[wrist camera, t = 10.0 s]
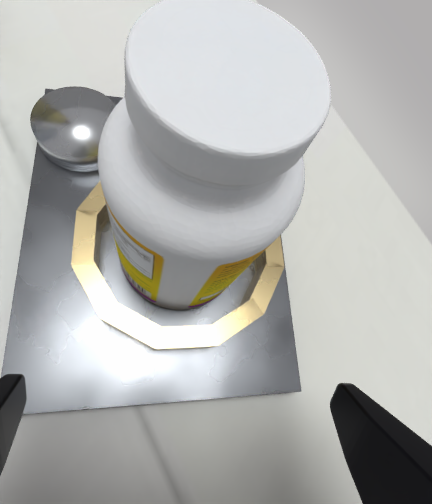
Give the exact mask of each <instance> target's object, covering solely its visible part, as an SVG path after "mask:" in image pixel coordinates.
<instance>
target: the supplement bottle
mask: <svg viewBox="0 0 432 504" xmlns="http://www.w3.org/2000/svg"><path fill="white" fill-rule="evenodd" d="M124 60H125V97H124V98H123V99H122V100H120V102H119V103H118V104H117V105H116V106H115V108H114V109H113V111H112V112H111V114H110V115H109V117H108V119H107V121H106V123H105V125H104V128H103V131H102V134H101V137H100V142H99V148H98V171H99V177H100V182H101V186H102V191H103V195H104V198H105V202H106V206H107V210H108V214H109V218H110V222H111V226H112V231H113V235H114V239H115V243H116V247H117V252H118V256H119V260H120V263H121V266H122V269H123V272H124V274H125V276H126V278H127V280H128V281H129V283H130V284H131V286H132V287H133V288H134V289H135V290H136V291H137V292H138V293H139V294H140V295H141V296H142V297H143V298H145V299H146V300H148V301H150V302H151V303H153V304H156V305H158V306H160V307H164V308H168V309H175V310H183V309H192V308H196V307H200V306H202V305H205V304H207V303H209V302H210V301H212V300H214V299H215V298H216V297H218V296H219V295H220V294H221V293H222V292H223V291H224V290H225V289H226V288H228V286H229V285H230V284H231V283H232V282H233V281H234V280H235V279H236V278H237V277H238V276H239V275H240V274H241V273H242V272H243V271H244V270H245V269H246V268H247V267H248V266H249V265H250V264H251V263H252V262H253V261H254V260H255V259H256V258H257V257H259V256H260V255H261V254H262V252H263V251H265V250H266V249H267V248H268V247H269V246H270V245H271V244H272V243H273V242H274V241H275V240H276V239H277V238H278V237H279V236H280V235H281V234H282V233H283V231H284V230H285V229H286V228H287V227H288V225H289V224H290V223H291V221H292V220H293V218H294V216H295V214H296V212H297V210H298V208H299V205H300V203H301V199H302V196H303V192H304V184H305V167H304V160H303V154H304V153H305V151H306V150H307V148H308V147H309V145H310V144H311V142H312V141H313V139H314V138H315V136H316V135H317V133H318V132H319V130H320V129H321V127H322V126H323V124H324V122H325V120H326V117H327V115H328V113H329V108H330V103H331V87H330V83H329V78H328V75H327V71H326V69H325V66H324V64H323V61H322V59H321V58H320V56H319V54H318V53H317V51H316V50H315V48H314V47H313V45H312V44H311V43H310V42H309V41H308V39H307V38H306V37H305V36H304V35H303V34H302V33H301V32H300V31H299V30H298V29H297V28H296V27H294V26H293V25H292V24H291V23H289V22H288V21H287V20H286V19H284V18H283V17H281V16H280V15H278V14H277V13H275V12H273V11H271V10H269V9H268V8H266V7H264V6H262V5H259V4H257V3H254V2H252V1H249V0H162V1H160V2H158V3H156V4H155V5H153V6H152V7H150V8H149V9H147V10H146V11H145V12H144V13H143V14H142V15H141V16H140V17H139V18H138V19H137V21H136V22H135V24H134V25H133V27H132V28H131V30H130V32H129V35H128V38H127V42H126V47H125V59H124Z"/></svg>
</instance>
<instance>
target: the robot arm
mask: <svg viewBox="0 0 432 504" xmlns="http://www.w3.org/2000/svg"><path fill="white" fill-rule="evenodd" d="M26 400H27V394H26V383H25V376H24V375H23V374H6V375H4V376H2V377H1V378H0V475H1V473H2V470H3V468H4V465H5V463H6V460H7V457H8V454H9V451H10V448H11V446H12V443H13V440H14V437H15V434H16V431H17V428H18V425H19V422H20V420H21V417H22V414H23V411H24V408H25V405H26ZM330 409H331V413H332V417H333V420H334V423H335V427H336V430H337V433H338V437H339V440H340V443H341V447H342V450H343V453H344V456H345V459H346V462H347V465H348V467H349V470H350V473H351V475H352V478H353V480H354V483H355V485H356V488H357V490H358V493H359V495H360V498H361V500H362V503H363V504H432V446H431V445H430V444H428V443H427V442H426V441H425V440H423V439H422V438H421V437H420V436H418V435H417V434H416V433H414V432H413V431H412V430H411V429H409V428H408V427H407V426H406V425H404V424H403V423H402V422H400V421H399V420H398V419H397V418H395V417H394V416H393V415H392V414H390V413H389V412H388V411H387V410H385V409H384V408H383V407H381V406H380V405H379V404H378V403H376V402H375V401H374V400H373V399H371V398H370V397H369V396H367V395H366V394H365V393H364V392H362V391H361V390H360V389H359V388H357V387H356V386H355V385H353V384H350V383H340V384H338V385H337V387H336V390H335V392H334V394H333V397H332V399H331V401H330Z"/></svg>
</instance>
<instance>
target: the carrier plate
mask: <svg viewBox="0 0 432 504" xmlns="http://www.w3.org/2000/svg"><path fill="white" fill-rule="evenodd" d="M122 99H123V98H120V97H112V96H105V95H104V94H102V93H100V92H98V91H96V90H93V89H89V88H85V87H64V88H59V89H56V90H52V89H45V95H44V96H43V97H42V98H40V99H39V100H38V102H37V103H36V104H35V106H34V107H33V110H32V113H31V118H30V121H31V127H32V130H33V133H34V135H35V137H36V139H37V147H36V154H35V160H34V167H33V173H32V179H31V186H30V192H29V199H28V205H27V212H26V218H25V225H24V231H23V238H22V244H21V250H20V257H19V263H18V270H17V276H16V283H15V289H14V296H13V302H12V309H11V315H10V322H9V328H8V334H7V341H6V347H5V354H4V360H3V367H2V373H1V377H2V376H4V375H6V374H23V375H24V376H25V383H26V394H27V400H26V405H25V408H24V411H23V414H31V413H44V412H56V411H68V410H80V409H93V408H105V407H117V406H129V405H142V404H154V403H166V402H178V401H191V400H203V399H215V398H227V397H240V396H252V395H264V394H276V393H289V392H301V385H300V377H299V370H298V362H297V354H296V347H295V339H294V331H293V324H292V316H291V308H290V301H289V293H288V285H287V278H286V270H285V263H284V255H283V247H282V240H281V235H280V236H279V237H278V238H277V239H276V240H275V241H274V242H273V243H272V244H271V245H270V246H269V247H268V248H267V249H266V250H265V251H263V252H262V254H261V255H260V256H259V257H257V258H256V259H255V260H254V261H253V262H252V263H251V264H250V265H249V266H248V267H247V268H246V269H245V270H244V271H243V272H242V273H241V274H240V275H239V276H238V277H237V278H236V279H235V280H234V281H233V282H232V283H231V284H230V285H229V286H228V288H226V289H225V290H224V291H223V292H222V293H221V294H220V295H219V296H218V297H216V298H215V299H214V300H212V301H210V302H209V303H207V304H205V305H202V306H200V307H196V308H192V309H183V310H175V309H168V308H164V307H160V306H158V305H156V304H153V303H151V302H150V301H148V300H146V299H145V298H143V297H142V296H141V295H140V294H139V293H138V292H137V291H136V290H135V289H134V288H133V287H132V286H131V284H130V283H129V281H128V280H127V278H126V276H125V274H124V272H123V269H122V266H121V263H120V260H119V256H118V252H117V247H116V243H115V239H114V235H113V231H112V226H111V222H110V218H109V214H108V210H107V206H106V202H105V198H104V195H103V191H102V186H101V182H100V177H99V171H98V148H99V142H100V137H101V134H102V131H103V128H104V125H105V123H106V121H107V119H108V117H109V115H110V114H111V112H112V111H113V109H114V108H115V106H116V105H117V104H118V103H119V102H120V100H122Z"/></svg>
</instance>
